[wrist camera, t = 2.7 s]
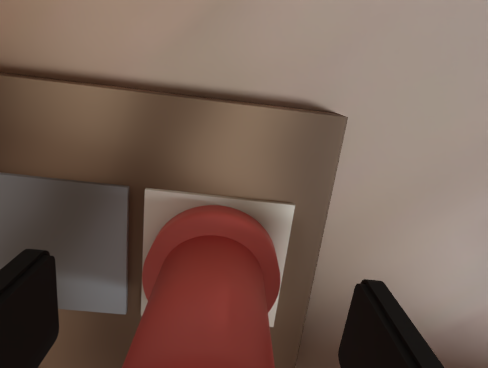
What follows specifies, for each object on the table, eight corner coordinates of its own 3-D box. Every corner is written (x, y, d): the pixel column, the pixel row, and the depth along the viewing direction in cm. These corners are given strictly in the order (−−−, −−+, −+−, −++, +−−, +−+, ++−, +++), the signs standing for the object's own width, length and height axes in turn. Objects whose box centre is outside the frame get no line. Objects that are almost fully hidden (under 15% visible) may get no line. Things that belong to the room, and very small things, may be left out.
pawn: (285, 212, 12) (427, 611, 3) (267, 320, 14) (326, 809, 5) (153, 198, 12) (-114, 589, 3) (148, 310, 13) (-39, 806, 4)
